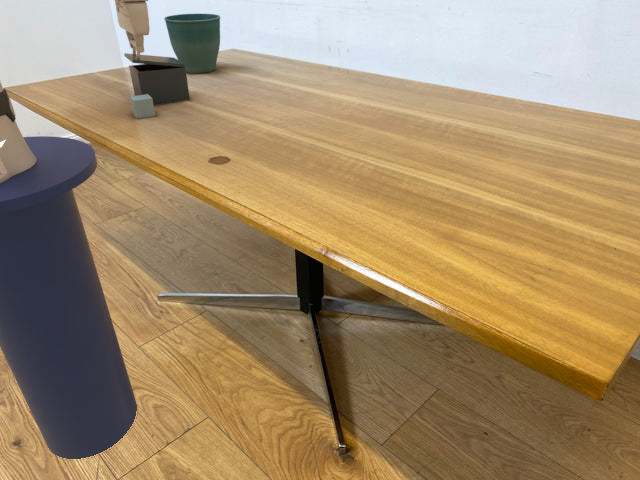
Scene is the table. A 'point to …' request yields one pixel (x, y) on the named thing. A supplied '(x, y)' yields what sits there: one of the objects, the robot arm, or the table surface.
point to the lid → (151, 58)
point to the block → (142, 106)
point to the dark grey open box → (160, 82)
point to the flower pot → (195, 40)
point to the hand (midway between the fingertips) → (137, 50)
